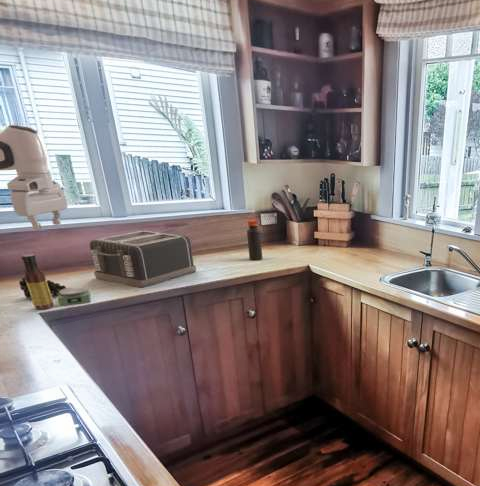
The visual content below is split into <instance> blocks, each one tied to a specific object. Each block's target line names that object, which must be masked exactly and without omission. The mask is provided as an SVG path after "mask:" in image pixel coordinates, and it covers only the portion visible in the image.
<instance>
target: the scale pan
mask: <svg viewBox="0 0 480 486" xmlns="http://www.w3.org/2000/svg"><path fill="white" fill-rule="evenodd" d="M87 288H88V287H87V286H71V287H66V288H65V289H62V290H60V291H59V293H60V295H64V296H72V295H79V294H83V293H85V292H87V291H88V290H87Z"/></svg>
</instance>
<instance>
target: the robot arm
mask: <svg viewBox="0 0 480 486" xmlns="http://www.w3.org/2000/svg"><path fill="white" fill-rule="evenodd" d="M47 160H48V158H47V153H46V149H45V145H44V143H43V139H42V137H41V136H40V134H39V132H38V131H36V129H34V128H32V127H28V126H24V125H18V124H17V125H15V124H10V125H7V126H6V128H4V130H2V131H0V171H14V170H15V171H16V175H17V176H15V178H13V179H11V180H10V181H8V182H7V184H6V185H7V189H8V191H10V200H11V205H12V207H13V211H14V213H15V214H16V215H17V216H18V217H26V218H27V221H28V222H29V223H31V226H32V229H33V230H41V229H42V225H41V222H38V220H37V218H38V216H37V215H41V214H47V213H52V214H53V217H52V219H51V221H52V224H53V225H55V226H58V225H61V224H62V223H61V215H62V210H67V208H68V201H67V197H66V195H65V192H64V190H63V188H62V187H61V184H60V183H59V182H58V181H57V180H53V177H52V173H51V170H50V168H49V167H48V161H47Z"/></svg>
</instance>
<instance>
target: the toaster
mask: <svg viewBox="0 0 480 486" xmlns="http://www.w3.org/2000/svg"><path fill="white" fill-rule="evenodd" d="M89 249H90V252H91V253H90V254H91V257H92V262H93V265H94V270H95V271H93V275H94V277H95V279H98V280H102V281H107V282H112V283H117V284H122V285H125V286H126V285H127V286H131V287H135V288H141V289H142V288H145V287H149V286H151V285H155V284H159V283H161V282H166V281H168V280H171V279H175V278H178V277H182V276H185V275H189V274H191V273H195V272H196V271H197V266H196V265H194V258H193V250H192V245H191V240H190V238H189V237H188V236H186V235H183V234H176V233H169V232H162V231H155V230H154V231H153V230H140V231H134V232H129V233H123V234H117V235H112V236H105V237H101V238H98V239H94V240H91V241H90V243H89Z"/></svg>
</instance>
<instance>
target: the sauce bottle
mask: <svg viewBox="0 0 480 486" xmlns="http://www.w3.org/2000/svg"><path fill="white" fill-rule="evenodd" d="M20 257H21V260H22V261H23V264H24V268H25V269H24V277H25V281H26V284H27V287H28V290H29V292H30V295H31V297H30V298H31V302H32V304H33V305H34V308H35V309H37V310H47V309H51V308H53V307H54V306H55V304H54V299H53V295H52V294H51V292H50V289H49V286H48V283H47V280H48V279H47V277H46V275H45V272H44V271H43V270H42V269H41V268H40V267H39V264H38V263H37V259H36V254H34V253H26V254H22V255H21V256H20Z"/></svg>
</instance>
